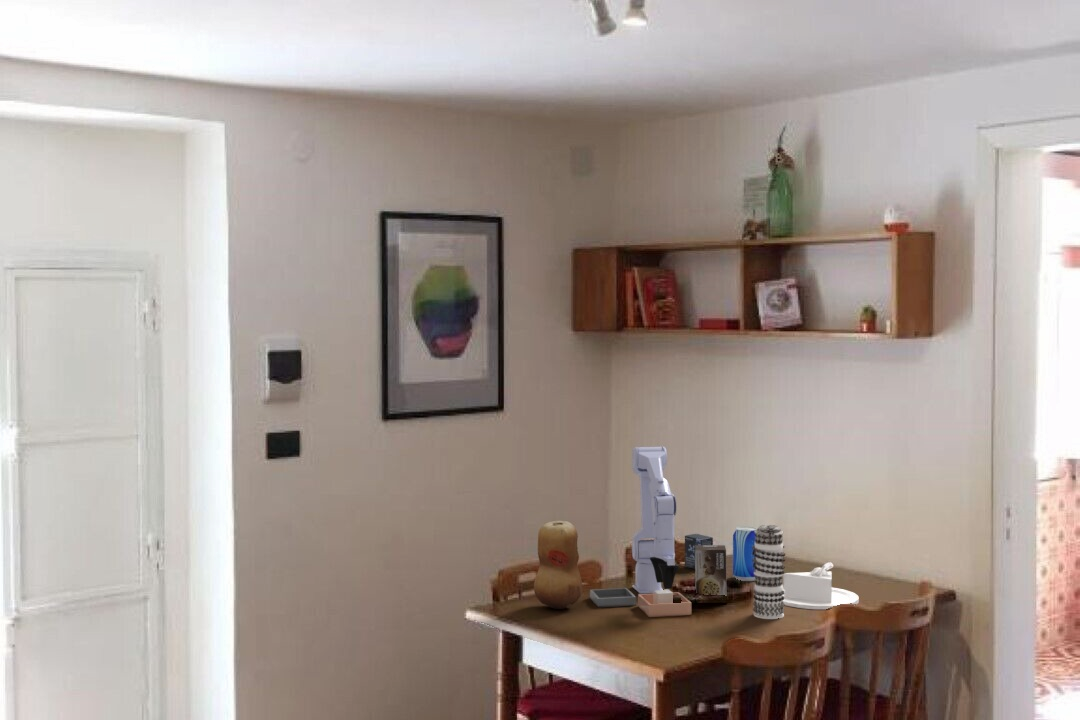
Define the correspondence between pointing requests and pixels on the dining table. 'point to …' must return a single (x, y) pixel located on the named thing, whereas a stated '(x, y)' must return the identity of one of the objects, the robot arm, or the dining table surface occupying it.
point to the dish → (815, 590)
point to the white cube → (662, 596)
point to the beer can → (743, 553)
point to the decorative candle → (768, 572)
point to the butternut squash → (558, 565)
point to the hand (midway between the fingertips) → (664, 585)
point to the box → (690, 547)
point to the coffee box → (710, 569)
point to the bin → (663, 606)
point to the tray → (612, 597)
